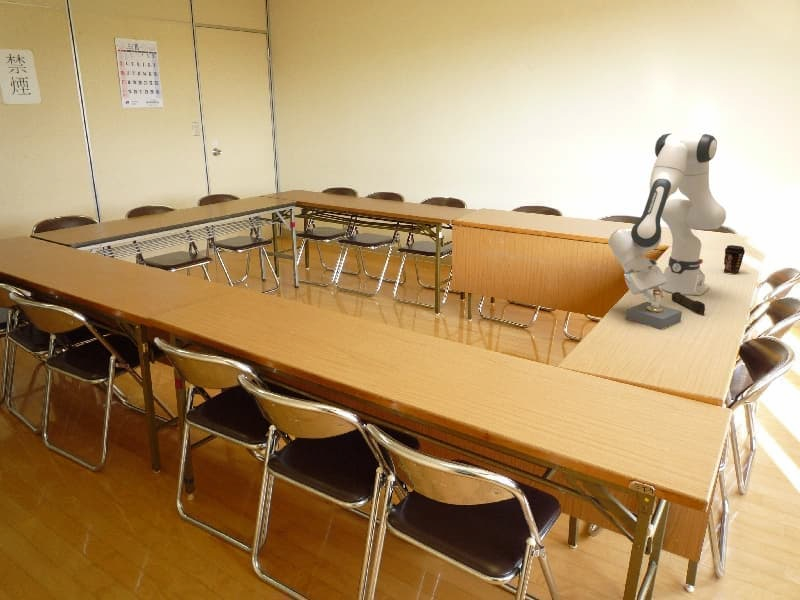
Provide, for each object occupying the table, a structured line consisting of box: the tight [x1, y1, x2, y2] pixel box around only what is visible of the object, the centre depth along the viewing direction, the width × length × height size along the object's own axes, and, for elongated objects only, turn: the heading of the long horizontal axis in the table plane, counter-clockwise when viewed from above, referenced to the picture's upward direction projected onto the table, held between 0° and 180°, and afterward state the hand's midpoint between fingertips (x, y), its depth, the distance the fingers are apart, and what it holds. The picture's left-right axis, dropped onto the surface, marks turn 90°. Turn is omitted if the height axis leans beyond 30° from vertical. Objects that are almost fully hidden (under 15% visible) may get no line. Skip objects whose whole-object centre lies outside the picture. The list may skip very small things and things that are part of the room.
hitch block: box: [625, 301, 683, 330], centre depth 219 cm, size 14×14×4 cm
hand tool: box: [671, 292, 706, 316], centre depth 234 cm, size 19×4×5 cm, turn 5°
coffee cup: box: [723, 244, 745, 275], centre depth 282 cm, size 9×8×13 cm
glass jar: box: [647, 289, 663, 313], centre depth 218 cm, size 6×6×11 cm
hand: (658, 299), depth 217 cm, fingers open, 4 cm apart
